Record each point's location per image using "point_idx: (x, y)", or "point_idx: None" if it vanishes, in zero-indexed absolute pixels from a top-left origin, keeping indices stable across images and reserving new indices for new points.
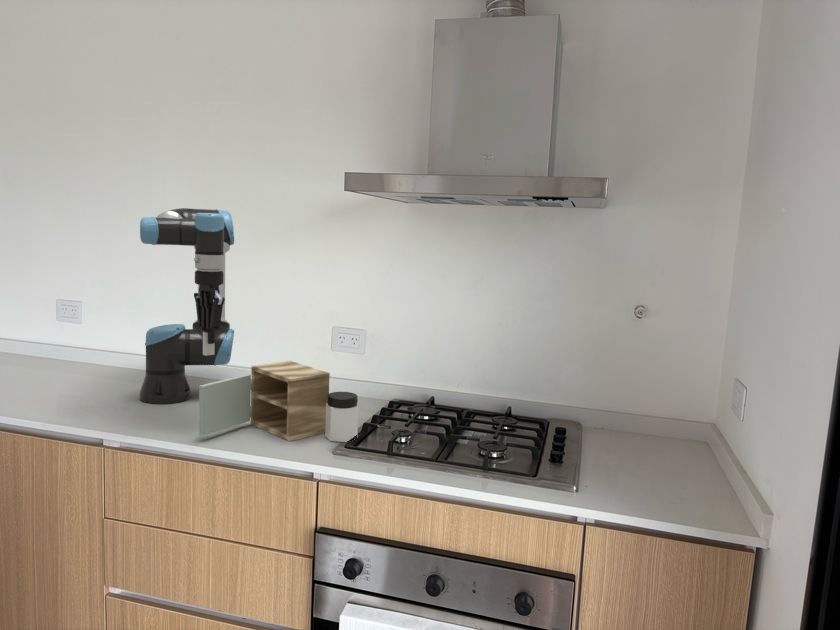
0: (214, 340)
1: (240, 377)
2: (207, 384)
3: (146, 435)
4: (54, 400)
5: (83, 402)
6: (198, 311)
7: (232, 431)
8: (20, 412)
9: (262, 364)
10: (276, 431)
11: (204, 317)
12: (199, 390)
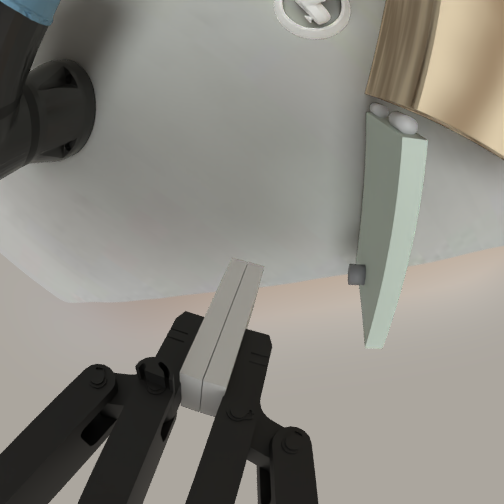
0: (269, 353)
1: (419, 203)
2: (377, 331)
3: None
4: (26, 240)
5: (39, 223)
6: (63, 483)
7: None
8: (59, 291)
9: (435, 48)
10: (473, 141)
11: (144, 490)
12: (364, 337)
